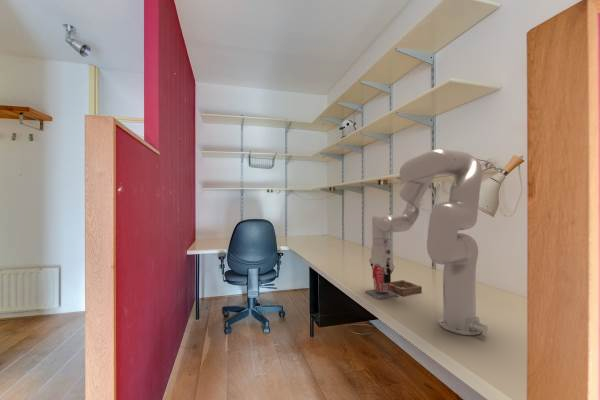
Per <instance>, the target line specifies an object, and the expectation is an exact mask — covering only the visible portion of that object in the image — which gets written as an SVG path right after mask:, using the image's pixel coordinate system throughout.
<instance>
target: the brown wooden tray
mask: <svg viewBox="0 0 600 400" xmlns="http://www.w3.org/2000/svg"><path fill="white" fill-rule="evenodd" d="M389 291H391V292H393V293H396V294H398V296H401V297H406V296H412V295H417V294H422V291H423V289H422V285H418V284H416V283H413V282H410V281H407V280H404V279H402V280H397V281H394V280H393V281H391V282H390V290H389Z"/></svg>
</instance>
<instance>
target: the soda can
mask: <svg viewBox="0 0 600 400" xmlns="http://www.w3.org/2000/svg"><path fill="white" fill-rule="evenodd" d="M386 267H387V266H386ZM386 270H388V269H386ZM384 274H385V272H384V269H383V268H382V267H380V265H375V266H374V268H373V270H372V279H373V289H375V290H376V291H377V292H387V291H389V290H390V283H384Z"/></svg>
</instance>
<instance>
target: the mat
mask: <svg viewBox="0 0 600 400" xmlns="http://www.w3.org/2000/svg"><path fill="white" fill-rule="evenodd" d="M365 294H367V295H369V296H372V297H373V298H375V299H377V300H379V301H381V300H387V299H392V298H397V297H398V296H399V295H398V294H396V293H394V292H391V291H387V292H377V291H376V290H375V289H374V288H373V289H368V290H365Z"/></svg>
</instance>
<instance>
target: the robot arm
mask: <svg viewBox="0 0 600 400" xmlns="http://www.w3.org/2000/svg"><path fill="white" fill-rule="evenodd" d="M398 173H399V177H400V180H402V181H403V182H404V184H403V185H402V187H401V189H400V191H399V192H398V193H399V197H400V198H401V199H402V200H403V201H404V202H406V205H405V208H404V209H403V211H402V213H401V214H388V215H387V214H374V215H373V216H372V219H371V222H372V223H371V226H372V229H371V230H372V231H371V234H372V235H371V236H372V245H371V253H370V258H369V260H368V262H369V264H370V266H371V270H372V271H373V268H374V266H375V265H380V267H382V268H383V269H384V272H385V274H384V283H390V282H392V279H391V276H392V274H393V272H394V270H395V268H396V267H395V265H394V260H393V259H394V258H393V251H392V250H393V249H392V246H391V244H390V243H391V241H390V233H399V232H400V233H402V232H407V231H409V230H410V229H411V228H412V227H413V226H414V225H415V223H416V221H417V220H418V218H419V216H420V211H421V210H420V209H421V207H420V202H421V201H422V198H423V197H424V195H425V194H426V192H427V190H428V189H429V187H430V186H431V184H432V182H433V181H434V180H435V177H436V176H437V175H438V176H439V175H440V176H453V177H454V179H453V182H452V183H451V186H450V188H449V197H448V201H442V202H440V203H437V204H435V206H434V207H433V208H432V210H431V212H430V214H429V217H428V218H429V220H428V228H427V229H428V230H427V239H426V251H427V254H428V256H429V258H430V259H431V261H432V262H434V263H436V264H438V265H443V269H442V293H443V295H442V300H443V303H442V304H443V305H442V309H443V310H442V311H443V316H440V317H439V318H438V325H439V326H440V327H441V328H443V329H445V330H447V331H449V332H451V333H454V334H458V335H462V336H478V335H480V334H483V335H486V334H487V332H488V325H486V324H485V323H481V322H480V317H479V316H477V299H476V298H477V297H476V296H477V295H476V293H477V291H476V289H477V288H476V283H477V282H476V278H477V277H476V275H477V274H476V272H477V271H476V270H477V262H478V259H479V258H478V257H479V246H478V244H477V241H476V239H474V238H473V237H472V236H470V234H467V233H462V232H458V231H465V230H470V229H471V228H474V227H475V225H476V224H477V221H478V214H479V213H478V212H479V203H480V197H481V196H480V195H481V194H480V192H481V187H482V186H481V185H482V179H483V166H482V164H481V162H480V161H479V159H478V158H477V157H475V155H472V154H470V153H468V152H467V153H466V152H464V151H458V150H451V149H443V148H442V149H441V148H440V149H439V148H438V149H437V148H436V149H432V150H429V151H427V152H424V153H422V154H419V155H417V156H415V157H412V158H410V159H408V160H407V161H405V162H403V164H402V165H401V167H400V169H399V172H398ZM386 266H387V267H386ZM386 269H388V270H386Z"/></svg>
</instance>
